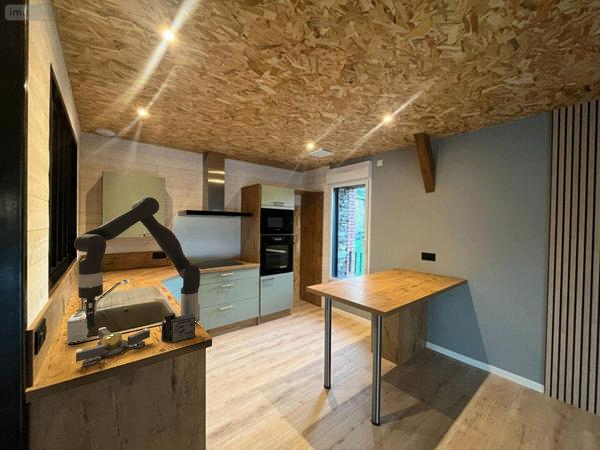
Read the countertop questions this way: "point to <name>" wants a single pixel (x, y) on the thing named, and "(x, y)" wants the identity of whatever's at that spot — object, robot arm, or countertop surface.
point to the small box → (182, 328)
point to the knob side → (103, 332)
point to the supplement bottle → (167, 327)
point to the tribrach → (112, 347)
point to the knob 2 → (139, 337)
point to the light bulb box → (77, 328)
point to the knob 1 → (89, 353)
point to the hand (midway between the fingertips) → (91, 324)
